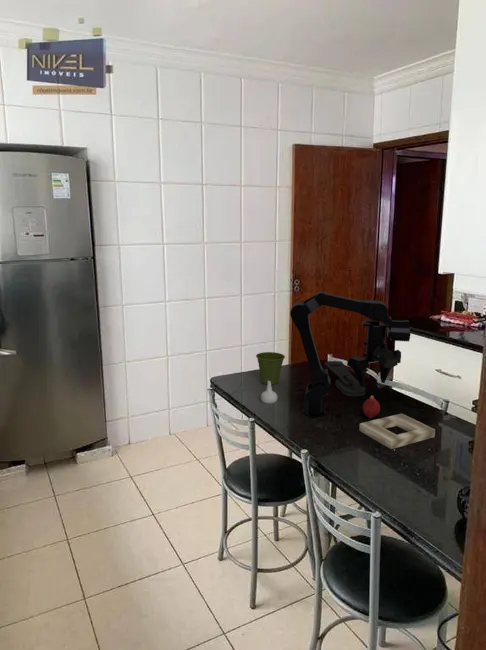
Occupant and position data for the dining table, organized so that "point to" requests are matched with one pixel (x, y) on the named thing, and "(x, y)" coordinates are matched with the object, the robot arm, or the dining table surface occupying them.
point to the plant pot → (270, 366)
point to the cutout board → (391, 440)
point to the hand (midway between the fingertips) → (372, 384)
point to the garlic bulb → (269, 395)
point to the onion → (371, 407)
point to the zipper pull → (345, 380)
